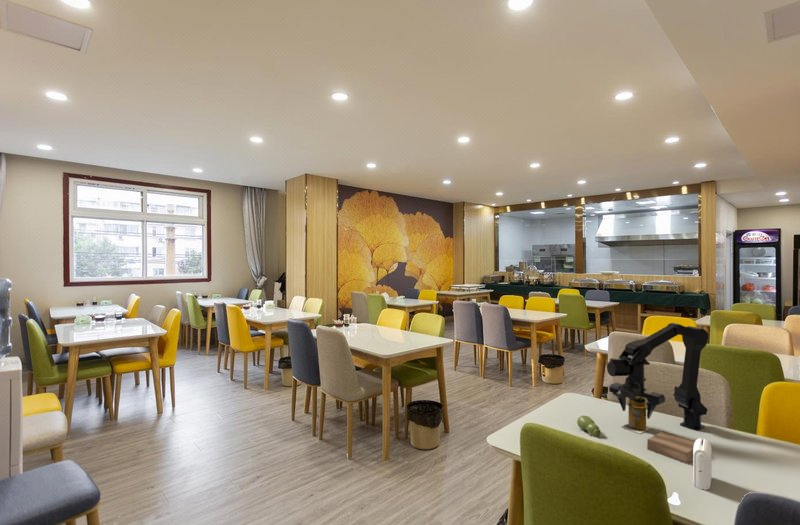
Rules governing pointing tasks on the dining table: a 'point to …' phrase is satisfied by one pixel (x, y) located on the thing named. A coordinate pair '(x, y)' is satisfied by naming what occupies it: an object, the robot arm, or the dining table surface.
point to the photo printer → (702, 464)
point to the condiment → (637, 415)
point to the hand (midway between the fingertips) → (635, 414)
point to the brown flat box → (672, 446)
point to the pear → (588, 425)
